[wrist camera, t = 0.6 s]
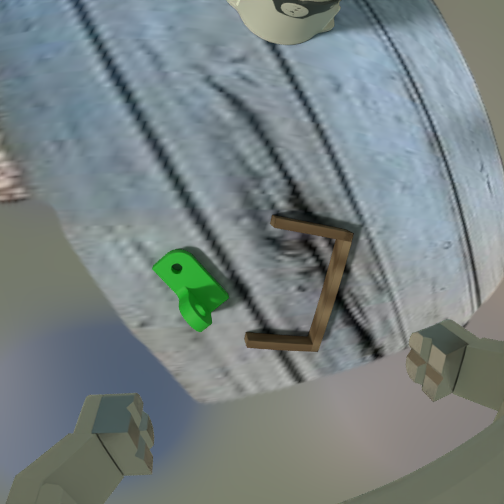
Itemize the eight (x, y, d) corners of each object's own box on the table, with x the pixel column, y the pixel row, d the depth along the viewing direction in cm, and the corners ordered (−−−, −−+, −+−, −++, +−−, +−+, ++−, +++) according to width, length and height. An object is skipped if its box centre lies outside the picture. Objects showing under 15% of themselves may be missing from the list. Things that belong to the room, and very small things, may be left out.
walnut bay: (272, 214, 51) (276, 218, 48) (346, 229, 54) (353, 233, 51) (244, 338, 57) (246, 347, 54) (312, 343, 60) (317, 351, 57)
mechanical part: (227, 293, 54) (233, 314, 46) (201, 314, 54) (203, 338, 47) (180, 241, 50) (177, 255, 42) (153, 264, 50) (146, 282, 43)
